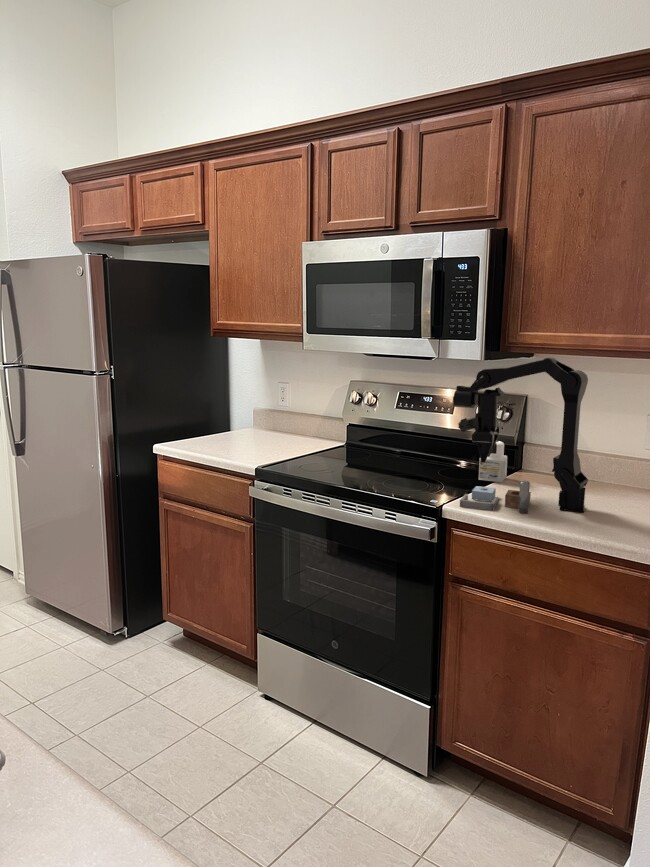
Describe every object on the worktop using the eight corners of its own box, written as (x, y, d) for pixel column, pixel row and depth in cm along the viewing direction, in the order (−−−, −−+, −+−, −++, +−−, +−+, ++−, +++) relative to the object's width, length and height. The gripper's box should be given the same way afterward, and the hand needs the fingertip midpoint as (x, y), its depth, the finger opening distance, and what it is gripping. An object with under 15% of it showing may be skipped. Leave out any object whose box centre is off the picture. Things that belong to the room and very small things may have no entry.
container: (478, 479, 223) (480, 442, 220) (484, 474, 229) (485, 438, 227) (501, 482, 219) (503, 444, 217) (506, 477, 226) (508, 440, 224)
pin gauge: (528, 511, 187) (530, 481, 186) (527, 514, 185) (529, 483, 183) (519, 510, 188) (520, 480, 187) (517, 513, 186) (519, 482, 184)
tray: (497, 503, 196) (497, 497, 195) (493, 510, 189) (493, 504, 188) (465, 499, 200) (465, 493, 199) (459, 506, 192) (459, 500, 192)
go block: (530, 503, 196) (530, 491, 195) (527, 509, 190) (528, 497, 189) (507, 500, 198) (508, 489, 197) (504, 506, 192) (505, 495, 192)
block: (495, 497, 203) (495, 487, 202) (491, 502, 197) (492, 492, 197) (475, 495, 205) (476, 485, 205) (471, 500, 200) (472, 490, 199)
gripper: (466, 404, 212) (464, 451, 215) (455, 412, 195) (453, 463, 198) (501, 406, 208) (499, 454, 211) (493, 414, 191) (491, 466, 194)
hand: (485, 459), depth 204 cm, fingers open, 9 cm apart
